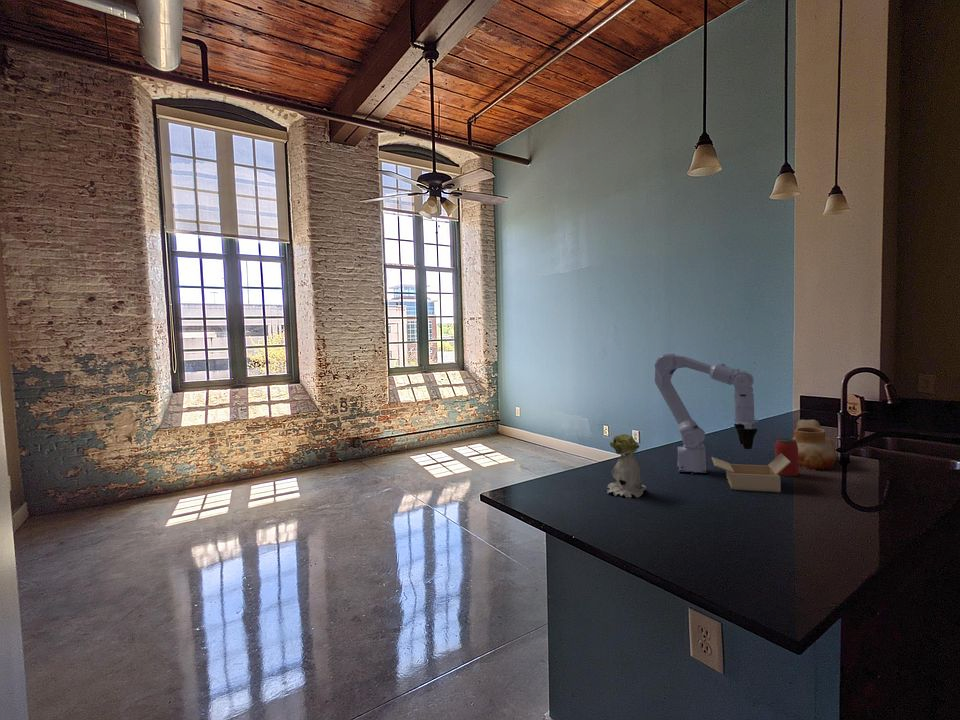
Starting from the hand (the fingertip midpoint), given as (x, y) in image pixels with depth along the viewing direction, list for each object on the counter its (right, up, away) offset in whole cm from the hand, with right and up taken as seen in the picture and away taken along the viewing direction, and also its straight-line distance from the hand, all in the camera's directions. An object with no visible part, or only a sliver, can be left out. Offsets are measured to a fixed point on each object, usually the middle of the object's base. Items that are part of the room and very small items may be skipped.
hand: (745, 446), depth 157 cm
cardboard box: (-3, -11, -9) cm, 14 cm away
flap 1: (-11, -5, -6) cm, 14 cm away
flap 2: (+3, -3, -12) cm, 13 cm away
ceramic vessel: (+34, -9, +15) cm, 38 cm away
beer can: (+15, -10, +1) cm, 18 cm away
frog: (-44, -13, -10) cm, 47 cm away
